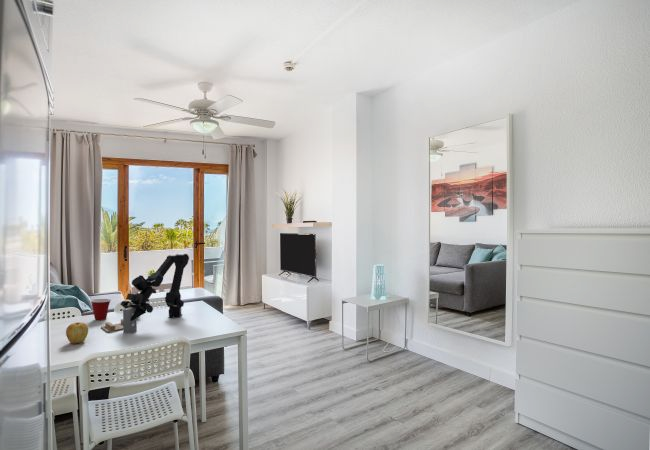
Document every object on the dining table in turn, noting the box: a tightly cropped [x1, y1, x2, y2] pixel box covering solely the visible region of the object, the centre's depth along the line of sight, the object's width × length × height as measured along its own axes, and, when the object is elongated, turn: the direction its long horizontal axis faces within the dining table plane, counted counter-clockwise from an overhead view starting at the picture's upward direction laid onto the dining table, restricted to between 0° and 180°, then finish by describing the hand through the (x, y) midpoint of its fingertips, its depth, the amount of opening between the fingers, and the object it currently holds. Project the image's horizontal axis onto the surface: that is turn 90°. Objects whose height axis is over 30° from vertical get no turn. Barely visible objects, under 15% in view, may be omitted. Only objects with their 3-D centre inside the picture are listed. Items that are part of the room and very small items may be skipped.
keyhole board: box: [100, 318, 123, 334], centre depth 207 cm, size 14×12×3 cm
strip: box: [122, 307, 138, 334], centre depth 200 cm, size 4×5×13 cm
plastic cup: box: [90, 298, 112, 322], centre depth 225 cm, size 11×11×12 cm
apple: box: [65, 321, 89, 344], centre depth 183 cm, size 9×9×10 cm
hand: (127, 320), depth 198 cm, fingers closed on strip, 4 cm apart
